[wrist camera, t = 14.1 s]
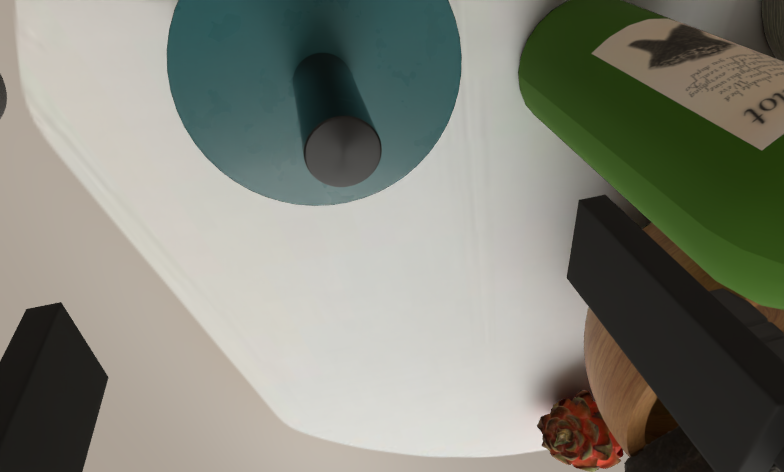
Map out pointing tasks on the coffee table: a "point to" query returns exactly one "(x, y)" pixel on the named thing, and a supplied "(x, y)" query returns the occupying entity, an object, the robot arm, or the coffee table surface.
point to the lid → (314, 90)
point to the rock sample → (671, 456)
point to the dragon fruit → (579, 434)
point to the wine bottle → (671, 130)
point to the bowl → (622, 380)
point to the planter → (774, 26)
